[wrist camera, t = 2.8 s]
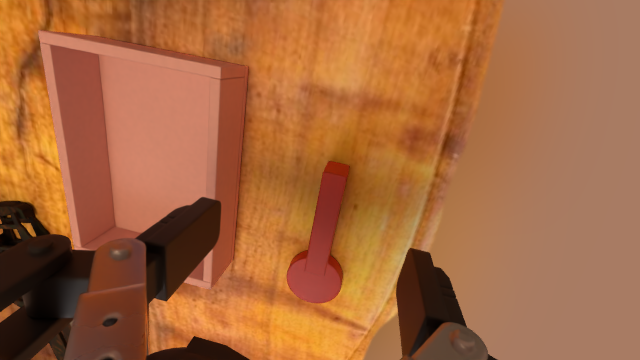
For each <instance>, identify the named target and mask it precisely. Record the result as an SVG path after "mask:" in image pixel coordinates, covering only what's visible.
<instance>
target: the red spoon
mask: <svg viewBox="0 0 640 360" xmlns="http://www.w3.org/2000/svg"><path fill="white" fill-rule="evenodd" d="M349 168H350V166H349V165H345V164H341V163H336V162H332V161H328V163H327V165H326V167H325V169H324V171H323V175H322V180H321V185H320V191H319V196H318V201H317V206H316V211H315V217H314V222H313V227H312V232H311V237H310V243H309V248H308V251H304V252H302V253H300V254H298V255H297V256H295V258H294V259H293V260H292V262H291V264H290V267H289V269H288V271H287V282H288V285H289V287H290V289H291V290H292V292H293V293H294V294H295V295H296V296H298V297H299V298H301V299H302V300H305V301H307V302H311V303H325V302H328V301H330V300H332V299H333V298H335V297H336V296H337V295H338V293H339V292H340V289H341V285H342V278H343V273H342V269H341V267H340V265H339V263H338V262H337V261H336V260H335V259H334V258H333V257H332V256H331V255H330V251H331V247H332V243H333V238H334V234H335V229H336V225H337V221H338V216H339V212H340V207H341V203H342V199H343V194H344V190H345V185H346V181H347V177H348V172H349Z"/></svg>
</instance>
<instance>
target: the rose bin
mask: <svg viewBox="0 0 640 360" xmlns="http://www.w3.org/2000/svg"><path fill="white" fill-rule="evenodd" d="M38 32H39V38H40V42H42V43H40V45H41V51H42V58H43V64H44V70H45V76H46V82H47V88H48V94H49V100H50V106H51V112H52V118H53V124H54V130H55V136H56V142H57V148H58V154H59V160H60V166H61V172H62V178H63V184H64V190H65V196H66V202H67V208H68V214H69V220H70V226H71V232H72V238H73V244H74V249H75V250H97V249H98V248H99V247H100V246H101V245H103V244H105V243H107V242H109V241H112V240H116V239H121V238H133V239H135V238H136V237H137V236H139V235H140V234H141V233H143V232H144V231H146V230H147V229H148V228H150V227H151V226H153V225H154V224H155V223H157V222H159V220H161V219H162V218H164V217H166V215H168V214H169V213H170V212H172V211H173V210H175V209H177V208H180V207H182V206H185V205H192V204H193V203H194V202H196V201H197V200H198V199H200V198H201V197H206V198H210V199H214V200H218V201H220V202H221V222H220V235H219V238H218V241H217V243H216V245H215V246H214V248H213V249H212V250H211V251H210V252H209V253H208V254H207V256H206V257H205V258H204V259H203V260H202V261H201V262H200V264H199V265H198V266H197V267H196V268H195V269H194V270H193V272H192V273H191V274H190V275H189V276H188V277H187V278H186V280H185V281H184V283H188V284H192V285H195V286H199V287H203V288H206V289H210V290H211V289H212V287H213V286H214V285H215V283H216V282H217V281H218V279H219V278H220V276H221V275H222V274H223V272H224V271H225V270H226V268H227V267H228V266H229V264H230V263H231V262H232V260H233V258H234V245H235V232H236V220H237V207H238V194H239V181H240V169H241V156H242V143H243V131H244V118H245V105H246V93H247V80H248V66H244V65H239V64H234V63H229V62H224V61H219V60H214V59H209V58H204V57H199V56H194V55H188V54H183V53H178V52H173V51H168V50H163V49H158V48H153V47H148V46H143V45H138V44H133V43H128V42H123V41H118V40H113V39H108V38H103V37H98V36H91V35H81V34H71V33H61V32H52V31H42V30H39V31H38Z"/></svg>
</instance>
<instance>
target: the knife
mask: <svg viewBox="0 0 640 360" xmlns="http://www.w3.org/2000/svg"><path fill="white" fill-rule="evenodd" d="M7 215H11V217H12V218H6V217H5V216H7ZM0 219H1V221H2V224H0V229H3V233H2V234H0V253H2V252H4V251H6V250H7V249H9V248H11V247H13V246H15V245H17V244H18V243H20V242H22V241H25V240H27V239H30V238H33V237H32V236H31V235H30V233H29V232H28V231H27V229H26V228H25V227H24V226H23V225H22V224H21V223H31V225H32V227H33V229H34V231H35V233H36V236H42V235H49V234H48V232H47V231H46V230H45V229H44V228H43V227H42V225H41V224H40V223H39V221H37V220H36V219H35V217H34V213H33V211H32V208H31V207H30V206H29V205H28V204H26V203H20V201H14V202H0ZM12 229H17V230H18V232H19V234H20V237H21V239H16V238H15V236H14V234H13V231H12ZM13 303H14V304H16V305H17V306H19V307H22V306H24V301H23V297H20V298H19V299H18V300H16V301H15V302H13ZM72 323H73V321H72V322H71V323H69V324H68V325H67V326H66V327H65V328H64V329H63V330H62V331H61V332H60V333H59V334H58V335H56V336H55V337H54V338H53V339H52V340H51V341H50V342H49V344H50V346H51V348H52V350H53V352H54V354H55V356H56V358H57V360H64V356H65V352H66V348H67V344H68V339H69V335H70V331H71V327H72ZM62 333H63V334H62Z"/></svg>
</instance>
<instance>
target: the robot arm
mask: <svg viewBox="0 0 640 360" xmlns="http://www.w3.org/2000/svg"><path fill="white" fill-rule="evenodd" d="M220 222H221V202H220V201H218V200H214V199H210V198H206V197H201V198H200V199H198V200H197V201H196V202H194V203H193V204H192V205H185V206H182V207H180V208H177V209H175V210H173V211H172V212H170V213H169V214H168V215H166V217H164V218H162V219H161V220H159V222H157V223H155V224H154V225H153V226H151V227H150V228H148V229H147V230H146V231H144V232H143V233H141V234H140V235H139V236H137V237H136V238H135V239H133V238H121V239H116V240H112V241H109V242H107V243H105V244H103V245H101V246H100V247H99V248H98V249H97V250H72V247H71V241H70V239H69V238H68V237H66V236H63V235H56V234H50V235H42V236H37V237H33V238H30V239H27V240H25V241H22V242H20V243H19V244H17V245H15V246H13V247H11V248H9V249H7V250H6V251H4V252H2V253H0V312H1V311H2V310H4V309H5V308H6V307H8V306H9V305H11V304H12V303H13V302H15V301H16V300H18V299H19V298H20V297H23V301H24V306H22V307H21V308H20V309H18V310H17V311H16V312H14V313H13V314H12V315H10V316H9V317H7V318H6V319H5V320H3V321H2V322H1V323H0V360H30V359H31V358H33V357H34V356H35V355H36V354H37V353H38V352H39V351H40V350H41V349H42V348H43V347H45V346H46V345H47V344H48V343H49V342H50V341H51V340H52V339H53V338H54V337H55V336H56V335H58V334H59V333H60V332H61V331H62V330H63V329H64V328H65V327H66V326H67V325H68V324H69V323H71V322H72V321H73V323H72V327H71V331H70V335H69V339H68V344H67V348H66V352H65V356H64V360H249V359H248V358H246V357H244V356H243V355H241V354H240V353H238V352H236V351H235V350H233V349H231V348H230V347H228V346H226V345H223V344H219V343H216V342H212V341H209V340H205V339H202V338H199V337H195V336H194V337H193V338H192V340H191V341H190V343H189V344H188V346H187V347H181V348H171V349H166V350H162V351H159V352H155V353H152V354H150V344H149V303H150V302H151V301H152V300H153V299H154V298H156V299H160V300H163V301H167V300H168V299H169V298H170V297H171V296H172V294H173V293H174V292H175V291H176V290H177V289H178V288H179V286H180V285H181V284H182V283H183V282H184V281H185V280H186V278H187V277H188V276H189V275H190V274H191V273H192V272H193V270H194V269H195V268H196V267H197V266H198V265H199V264H200V262H201V261H202V260H203V259H204V258H205V257H206V256H207V254H208V253H209V252H210V251H211V250H212V249H213V248H214V246H215V245H216V243H217V241H218V238H219V235H220ZM396 296H397V306H398V316H399V326H400V336H401V346H402V355H403V357H402V358H401V359H400V360H497V359H495V358H493V357H492V356H490V355H489V354H488V351H487V348H486V346H485V344H484V342H483V341H482V340H481V338H480V337H479V336H478V335H477V334H475V333H474V332H473V331H472V330H470V329H469V328H467V326H466V323H465V320H464V318H463V315H462V312H461V309H460V307H459V304H458V301H457V299H456V295H455V293H454V291H453V287H452V284H451V281H450V279H449V277H448V276H447V275H446V274H445V273H444V271H443V270H442V269H441V268H438V267H434V265H433V262H432V258H431V255H430V253H429V252H425V251H421V250H417V249H413V248H410V249H409V250H408V252H407V255H406V258H405V261H404V264H403V267H402V269H401V272H400V275H399V278H398V282H397V288H396Z"/></svg>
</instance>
